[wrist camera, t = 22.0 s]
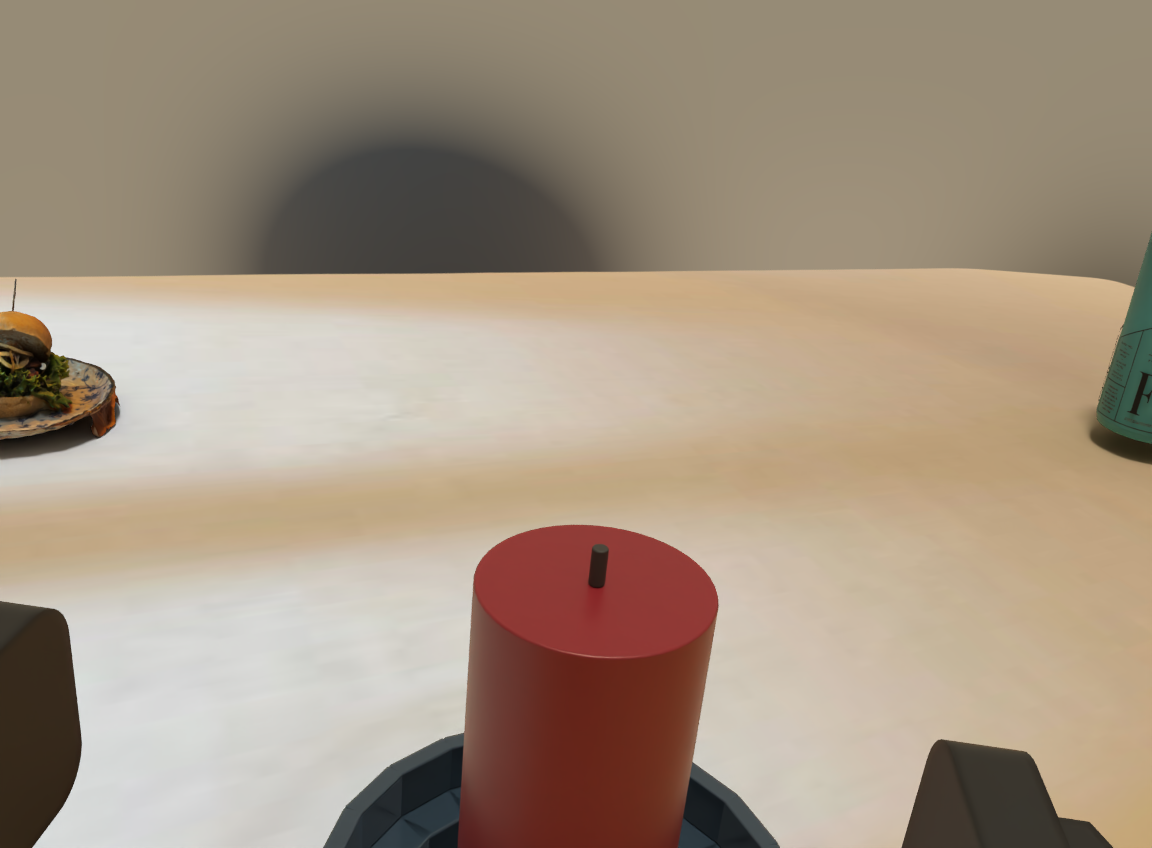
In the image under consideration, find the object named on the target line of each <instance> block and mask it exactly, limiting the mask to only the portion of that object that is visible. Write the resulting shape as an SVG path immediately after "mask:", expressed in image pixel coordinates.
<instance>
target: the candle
mask: <svg viewBox="0 0 1152 848" xmlns="http://www.w3.org/2000/svg"><path fill="white" fill-rule="evenodd" d="M717 612H718V596H717V592H716V589H715V586H714V584H713V582H712V581H711V579H710V577H709V576H708V575H707V573H706V572H705V571H704V570H703V569H702V568H701V567H700V566H699V565H698V564H697V563H696V562H695V561H694V560H692V559H691V558H690V557H688V556H687V555H685V554H684V553H682V552H681V551H679V550H677V549H676V548H674V547H672V546H670V545H668V544H666V543H664V542H661V541H659V540H656V539H654V538H651V537H648V536H645V535H642V534H639V533H635V532H631V531H627V530H622V529H617V528H612V527H603V526H593V525H561V526H551V527H544V528H539V529H535V530H530V531H527V532H523V533H520V534H517V535H515V536H513V537H510V538H508V539H506V540H504V541H502V542H501V543H499V544H497V545H496V546H495V547H493V548H492V549H491V550H489V551H488V552H487V554H486V555H485V556H484V557H483V558H482V559H481V561H480V563H479V564H478V566H477V568H476V571H475V574H474V582H473V598H472V614H471V631H470V647H469V664H468V681H467V697H466V714H465V731H464V747H463V764H462V780H461V797H460V814H459V830H458V847H457V848H678V844H679V838H680V832H681V826H682V820H683V814H684V808H685V802H686V796H687V790H688V785H689V779H690V773H691V767H692V761H693V755H694V749H695V743H696V737H697V731H698V725H699V719H700V713H701V707H702V701H703V695H704V689H705V683H706V677H707V671H708V666H709V660H710V654H711V648H712V642H713V636H714V630H715V624H716V618H717Z"/></svg>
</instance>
